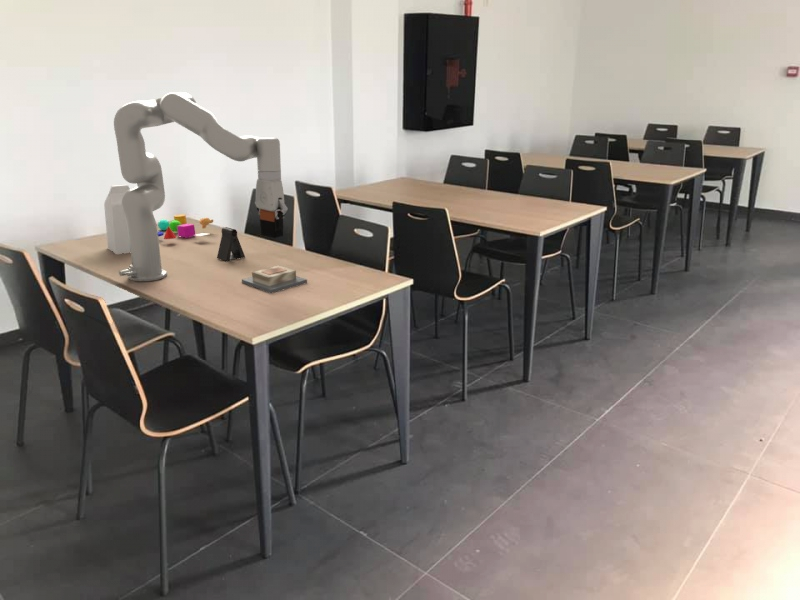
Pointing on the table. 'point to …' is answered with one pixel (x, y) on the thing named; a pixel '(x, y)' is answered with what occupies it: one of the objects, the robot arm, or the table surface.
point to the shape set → (181, 227)
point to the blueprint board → (277, 286)
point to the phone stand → (229, 245)
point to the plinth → (274, 275)
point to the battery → (269, 224)
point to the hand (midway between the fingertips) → (271, 227)
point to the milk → (116, 220)
